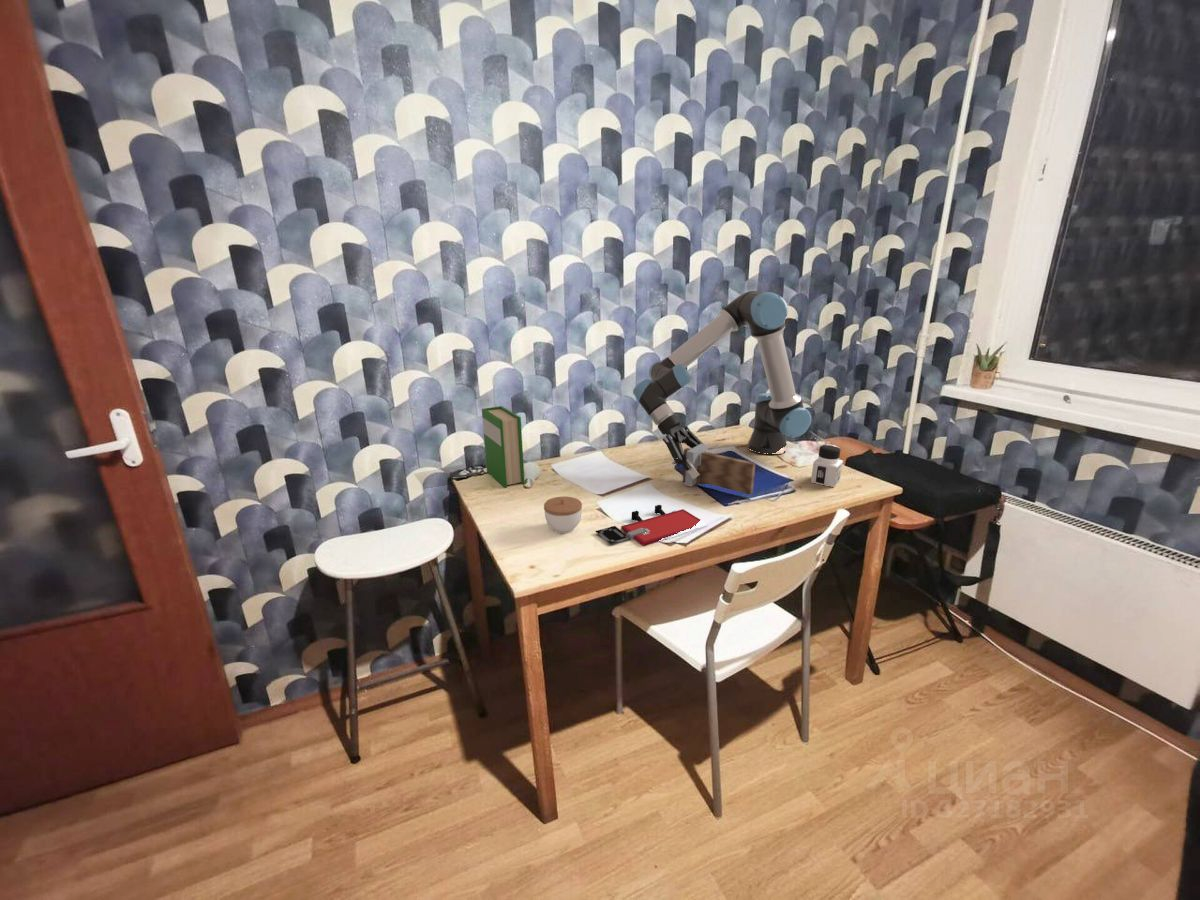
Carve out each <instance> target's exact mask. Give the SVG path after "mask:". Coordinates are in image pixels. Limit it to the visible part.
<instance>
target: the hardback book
mask: <svg viewBox="0 0 1200 900" xmlns="http://www.w3.org/2000/svg"><path fill="white" fill-rule="evenodd" d="M481 416H482V418H481V419H482V427H483V428H482V429H483V440H484V453H485V463H486V464H485V465H486V473H487V474H488V475H489V476H491V477H492V479H493V480H495V482H497V483H498V484H499V486H501V487H502V488H503V489H507V488H508V486H509V485H514V484H518V483H519V484H521V485H525V484H526V482H525V467H524V466H525V465H524V452H523V436H522V435H523V434H522V417H521V416H520V415H517V414H516V413H514V412H512V411H511V410H509V409H508V408H506V407H504V406H502V405H499V406H493V407H485V408H481Z"/></svg>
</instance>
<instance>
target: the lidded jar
mask: <svg viewBox="0 0 1200 900" xmlns="http://www.w3.org/2000/svg"><path fill="white" fill-rule="evenodd" d="M582 508H583V504H582V501H581V500H580V499H578V498H577V497H572V496H564V495H563V496H556V497H555V496H554V497H553V498H552V497H551V498H550V499H548V500H546V501H545V502H544V504H543V509H544V517H545V520H546V523H547V525H548V526H549V527H550V529H552V530H553V531H554V532H555V533H556V534H569V533H572V532H573V531H574V530H575V529H576V528H577V526H578V525H579V524H580V522H581V519H582V511H583V510H582Z"/></svg>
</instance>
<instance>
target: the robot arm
mask: <svg viewBox="0 0 1200 900" xmlns="http://www.w3.org/2000/svg"><path fill="white" fill-rule="evenodd" d="M788 314H789V311H788V304H787V302H786V301H785V299H784V298H783V297H782V296H781V295H779V294H777V293H775V292H770V291H757V290H749V291H746V292H743V293H742V294H740V295H739V296H737V297H736V298H734V299H733V300H732V301H731V302H729V303H727V305H726V306H724V307H723V308H722V309H721V310H720V312H719V315H718V316H716V317H715V318H713V320H711V321H710V322H708V324H705V326H704V327H703V328H701V329H700V330H699V331H698V332H696V333H695V334H694V335H693V336H691V337H690V338H689V339H688V340H687V341H685V342H684V343H683V344H681V345H680V346H679V347H678V348H677V349H675V350H674V351H672V353H670V354H668V355H667V357H665V358H664V359H662V361H656V362H654V363H652V364H651V365H650V367H649V369H648V375H649V377H650V379H649V378H645V379H644V380H641V381H640V382H639V383H638V384H636V385H635V387H634V388H633V389H632V393H633V395H634V397H635V399H636V400H637V401H638V403H639V404H640V406H641V407H642V408H643V410H645V412H646V414H647V415H648V416H649V417H650V419H651V420H652V422H653V423H654V424H655V426H657V429H658V431H660V432H661V433H660V434H662V435H664V437H663V438H662V441H663V442H664V445H665V444H666V447H667V449H668V451H669V453H670V455H671V457H672V459H673V461H674V463H675V464H677V465H678V466H680V465H682V468H683V467H684V468H685V469H686V470H687V472H688V473H689V474H690V476H691V477H692V478H693V479H695V478H696V477H697V476H699V475H700V474H699V473H698V471H697V470H696V469H695V467H694V466H693V465H692V463H691V462H690V461H689V459H687V460H686V457H685V454H684V448H683V445H682V444H684V445H686V446H688V448H690V449H692V448H694V447H696V446H697V445H699V444H704V443H703V442H702V441H701V440H700V439H699V438H698V437H697V436H696V435H695V434H694V433H693V432H692V431H691V429H690V428H689V427H688V426H687V425H686V426H684V427H681V425H680V424H681V420H680V419H679V418H678V416H677V414H674V411H673V409H672V408H671V407H670V405H669V404H668V403H667V401H666V399H668V398H669V397H670V396H672V395H673V394H675V393H676V392H678V391H680V390H682V389H683V388H684V387H685V386H687V385H688V384H689V383H690V382H691V380H692V379H691V376H690V373H689V372H688V370H687V369H686V368H687V367H688V366H690V365H691V364H693V363H694V362H695V361H696V360H697V359H699V358H701V356H702V355H704V354H705V353H706V352H708V351H710V349H712V347H714V346H715V345H717V344H718V343H719V342H721V341H722V340H723V339H724V338H726V337H727V336H728V335H729V334H731V332H737V331H739V330H740V329H741V328H743V327H745V326H748V327H749V331H750V336H751V337H752V338H754V339H755V340H757V341H756V342H757V345H758V350H759V353H760V357H761V361H762V365H763V369H764V373H765V377H766V382H767V385H768V389H769V392H765V393H764V392H763V393H759V394H757V396H756V400H755V409H754V410H755V411H754V412H755V413H754V422H753V423H754V424H753V425H754V426H753V431H752V433H751V436H750V438H749V440H748V442H747V449H748V448H749V449H751V450H753V451H756V452H760V453H766V454H767V453H768V454H772V453H776V452H777V451H779V450H780V449H781V448H783V447H785V446H786V445H787V446H788V444H787V439H786V437H787V438H798V437H801V436H802V435H804V434H805V433H806V432H807V431H808V429H809V428H810V427H811V423H812V415H811V412H810V411H809V410H808V409H807V408H805V407H804V403H803V399H802V397H801V395H800V394H799V393H796V388H795V385H794V379H793V375H792V371H791V367H790V361H789V357H788V352H787V348H786V344H785V340H784V336H783V331H784V330H785V328H786V318H787V317H788ZM665 435H666V436H665ZM749 449H748V450H749Z"/></svg>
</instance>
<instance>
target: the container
mask: <svg viewBox="0 0 1200 900" xmlns="http://www.w3.org/2000/svg"><path fill="white" fill-rule="evenodd" d="M840 455H841V448H840V447H839V446H837V445H834V444H823V445H820V446H819V450H818V456H817V458H816V459H815V461H813V463H812V472H811V478H810V479H811V480H810V483H811V484H814V483H816V484H815V485H819V484H820V486H823V485H825V487H828V486H831V487H830V488H832V487H834V488H835V487H836V486H837V485H838V484H839V483H840V481H841V475H842V468H843V464H844V460H842V459H840ZM836 484H837V485H836ZM835 485H836V486H835Z"/></svg>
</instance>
